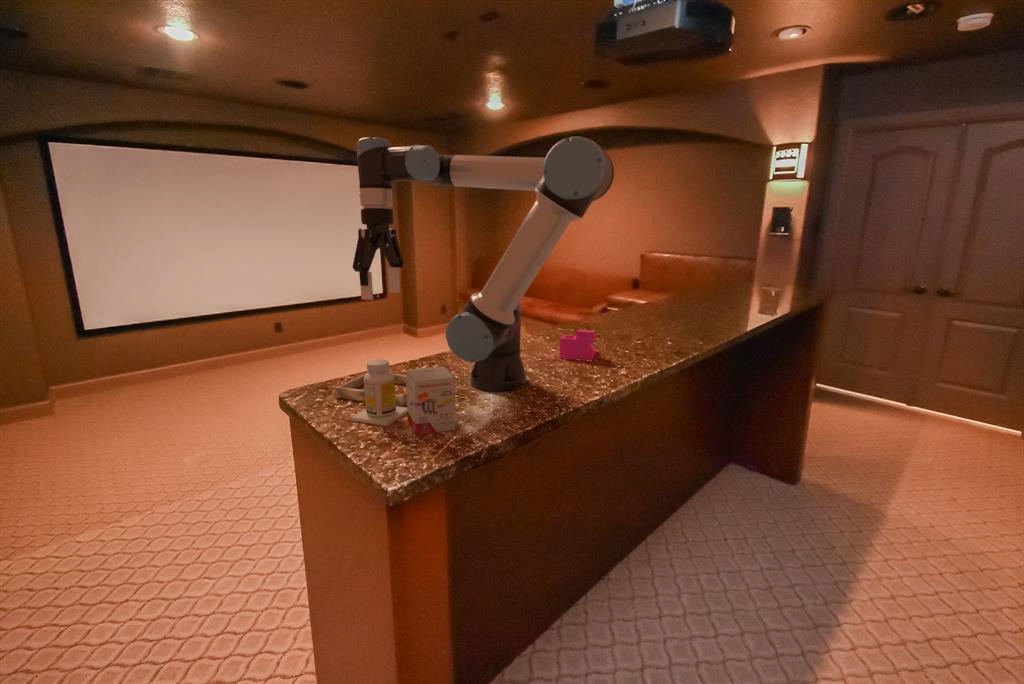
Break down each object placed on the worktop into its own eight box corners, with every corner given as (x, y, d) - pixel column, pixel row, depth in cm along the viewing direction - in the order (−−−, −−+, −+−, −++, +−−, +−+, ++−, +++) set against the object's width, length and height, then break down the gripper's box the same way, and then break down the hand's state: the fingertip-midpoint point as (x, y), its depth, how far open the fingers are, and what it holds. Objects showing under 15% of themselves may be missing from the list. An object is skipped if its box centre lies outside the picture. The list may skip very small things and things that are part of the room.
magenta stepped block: (591, 364, 148) (593, 332, 145) (559, 361, 151) (560, 330, 148) (597, 355, 159) (598, 325, 157) (566, 352, 162) (567, 323, 160)
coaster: (409, 411, 109) (409, 407, 109) (387, 426, 100) (387, 422, 100) (375, 406, 112) (375, 403, 111) (351, 420, 103) (351, 417, 103)
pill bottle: (401, 408, 108) (398, 359, 106) (388, 419, 102) (385, 367, 99) (374, 406, 110) (371, 357, 107) (360, 416, 103) (356, 365, 101)
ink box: (415, 436, 96) (413, 380, 93) (407, 421, 103) (404, 368, 101) (456, 429, 99) (455, 375, 96) (445, 415, 107) (444, 364, 104)
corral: (431, 387, 125) (430, 378, 125) (402, 406, 112) (401, 396, 111) (370, 380, 131) (369, 371, 130) (335, 397, 117) (335, 387, 117)
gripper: (388, 210, 127) (392, 289, 132) (331, 205, 104) (339, 302, 108) (414, 209, 125) (417, 290, 130) (362, 205, 102) (368, 303, 107)
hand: (381, 295), depth 119 cm, fingers open, 13 cm apart
